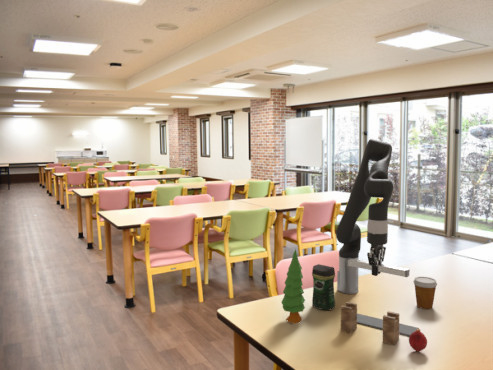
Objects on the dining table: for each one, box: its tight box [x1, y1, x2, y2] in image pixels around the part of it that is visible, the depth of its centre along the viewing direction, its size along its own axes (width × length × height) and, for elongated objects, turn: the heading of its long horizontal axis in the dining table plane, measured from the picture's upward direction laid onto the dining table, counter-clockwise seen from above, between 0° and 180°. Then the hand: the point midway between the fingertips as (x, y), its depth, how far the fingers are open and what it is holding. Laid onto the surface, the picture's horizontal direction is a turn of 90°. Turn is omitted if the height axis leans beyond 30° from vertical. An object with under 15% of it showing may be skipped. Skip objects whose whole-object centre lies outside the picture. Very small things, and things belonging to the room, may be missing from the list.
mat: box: [357, 312, 420, 337], centre depth 162 cm, size 28×8×1 cm, turn 53°
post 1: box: [340, 301, 358, 334], centre depth 158 cm, size 4×6×10 cm, turn 143°
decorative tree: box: [281, 248, 306, 324], centre depth 166 cm, size 10×9×30 cm
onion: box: [408, 328, 428, 353], centre depth 140 cm, size 6×6×8 cm
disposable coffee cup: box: [413, 276, 438, 310], centre depth 179 cm, size 10×10×12 cm
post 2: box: [382, 310, 400, 346], centre depth 148 cm, size 4×6×10 cm, turn 143°
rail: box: [346, 258, 410, 278], centre depth 160 cm, size 24×3×3 cm, turn 51°
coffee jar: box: [311, 263, 336, 311], centre depth 180 cm, size 10×8×19 cm
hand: (376, 274), depth 160 cm, fingers closed on rail, 2 cm apart
